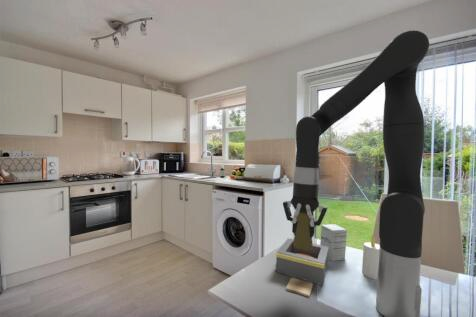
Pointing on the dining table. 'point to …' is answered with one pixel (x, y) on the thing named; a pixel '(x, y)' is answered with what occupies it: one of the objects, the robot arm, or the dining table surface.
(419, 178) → the robot arm
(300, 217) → the olive brown knobbed peg
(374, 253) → the candle
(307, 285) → the cork coaster
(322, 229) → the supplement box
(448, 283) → the dining table surface
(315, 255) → the box
